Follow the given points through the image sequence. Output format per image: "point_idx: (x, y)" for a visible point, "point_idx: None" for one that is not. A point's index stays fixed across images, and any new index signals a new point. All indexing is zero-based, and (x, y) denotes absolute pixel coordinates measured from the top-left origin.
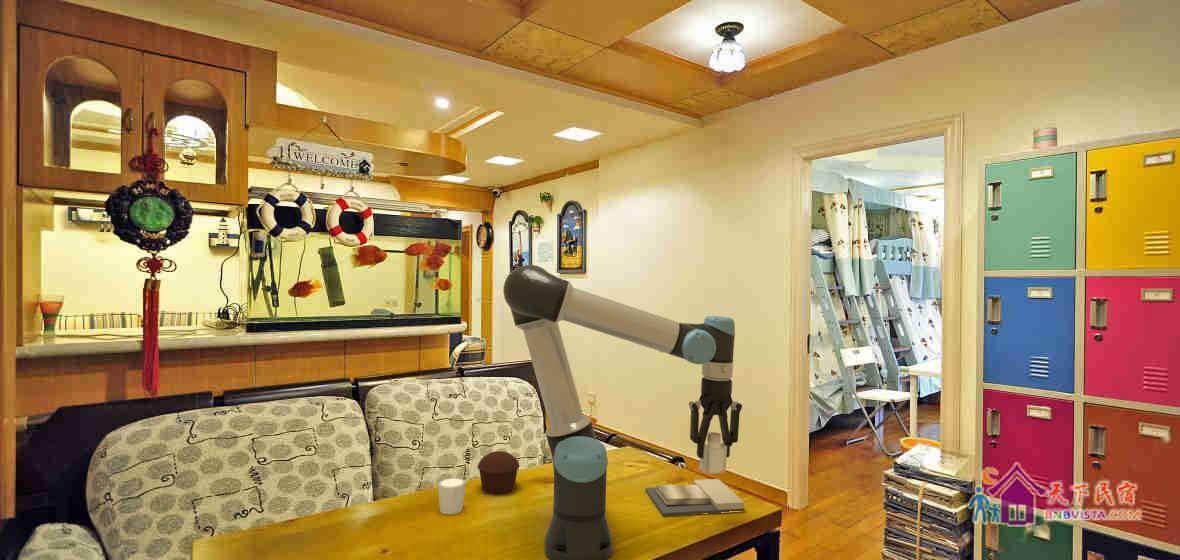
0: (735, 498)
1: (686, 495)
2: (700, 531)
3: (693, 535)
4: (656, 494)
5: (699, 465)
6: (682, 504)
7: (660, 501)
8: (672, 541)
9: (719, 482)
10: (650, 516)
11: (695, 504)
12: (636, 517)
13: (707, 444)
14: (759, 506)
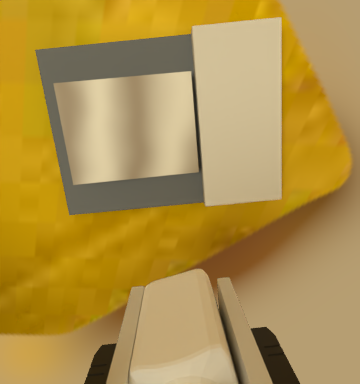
0: (269, 174)
1: (135, 159)
2: (142, 274)
3: (123, 289)
4: None
5: (129, 296)
6: None
7: None
8: (78, 308)
9: (272, 50)
10: (44, 207)
11: None
12: (11, 211)
13: (159, 376)
14: (326, 162)
